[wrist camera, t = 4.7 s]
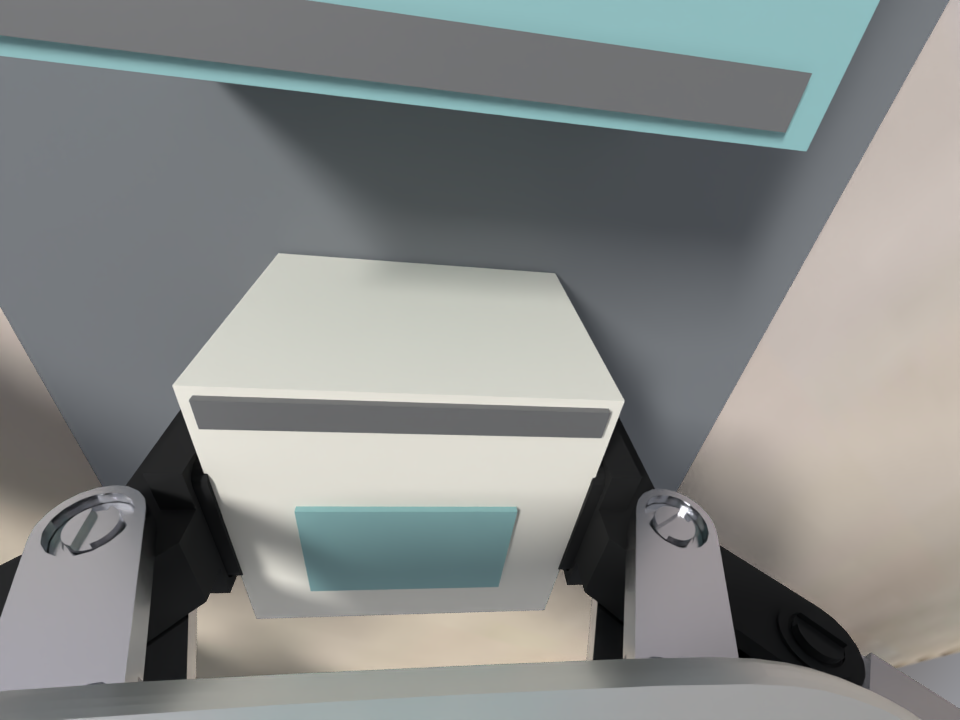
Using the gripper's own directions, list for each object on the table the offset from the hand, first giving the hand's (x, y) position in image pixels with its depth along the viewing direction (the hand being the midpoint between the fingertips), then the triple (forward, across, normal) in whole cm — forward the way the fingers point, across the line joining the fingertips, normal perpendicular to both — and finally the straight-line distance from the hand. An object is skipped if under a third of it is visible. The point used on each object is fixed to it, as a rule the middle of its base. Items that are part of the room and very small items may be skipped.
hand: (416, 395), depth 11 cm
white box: (+1, 0, 0) cm, 1 cm away
